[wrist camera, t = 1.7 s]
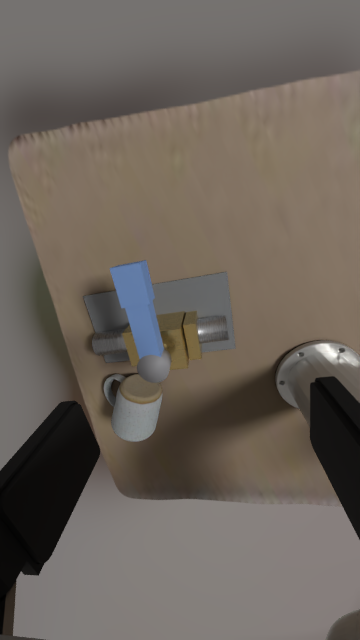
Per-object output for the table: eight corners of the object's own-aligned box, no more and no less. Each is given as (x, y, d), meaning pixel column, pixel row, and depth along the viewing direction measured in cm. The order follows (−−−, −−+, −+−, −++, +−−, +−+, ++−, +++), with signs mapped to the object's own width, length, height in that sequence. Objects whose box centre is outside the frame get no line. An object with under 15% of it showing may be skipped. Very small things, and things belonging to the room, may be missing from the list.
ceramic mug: (167, 376, 38) (158, 409, 31) (160, 411, 41) (149, 448, 34) (109, 362, 38) (86, 390, 31) (106, 398, 41) (84, 431, 34)
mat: (226, 271, 30) (227, 272, 30) (235, 347, 34) (235, 348, 34) (83, 295, 34) (82, 296, 34) (106, 361, 38) (106, 362, 38)
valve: (223, 305, 32) (229, 327, 24) (227, 339, 34) (234, 369, 26) (98, 323, 35) (68, 347, 27) (108, 353, 37) (83, 384, 29)
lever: (148, 259, 22) (142, 262, 20) (174, 370, 27) (171, 381, 24) (116, 265, 23) (106, 269, 21) (146, 373, 27) (141, 384, 25)
